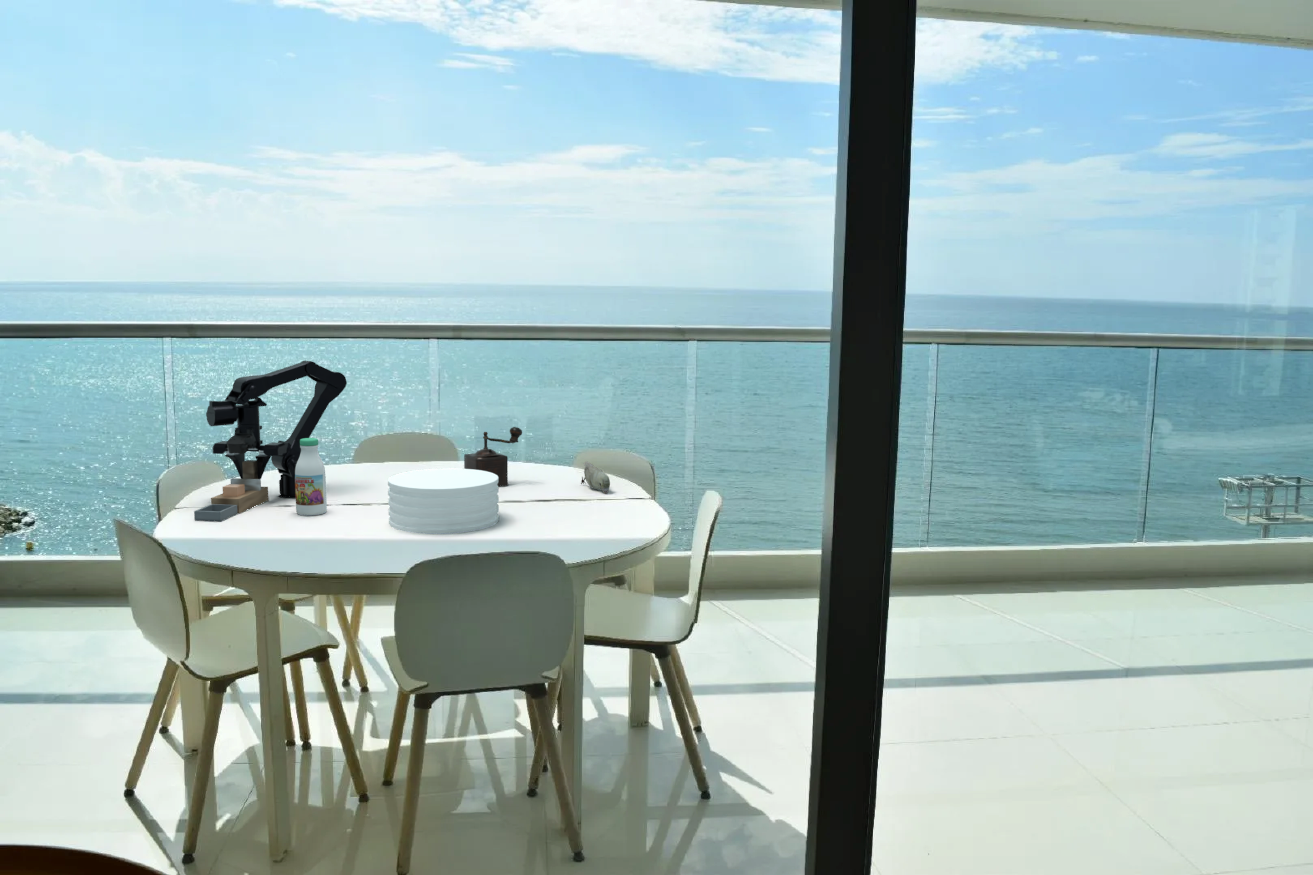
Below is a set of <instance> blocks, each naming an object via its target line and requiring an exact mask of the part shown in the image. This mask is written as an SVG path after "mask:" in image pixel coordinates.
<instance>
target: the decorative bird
mask: <svg viewBox="0 0 1313 875" xmlns="http://www.w3.org/2000/svg"><path fill="white" fill-rule="evenodd" d="M583 466H584V471H583V473H584V477H583V476H581V481H580V484H581V485H583V484H584V485H588V486H589V487H590V488H592V489H595V490H598V491H600V490H602V492H603V493H604V494H605V495H608V493H609V491H610V485H611V481H610V477H609V476H608V475H607V474H606V473H605V472H603V471H602V469H601V468H599V467H598V466H594V464H593V463H591V462H589V461H584V462H583ZM585 481H586V482H585Z"/></svg>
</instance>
